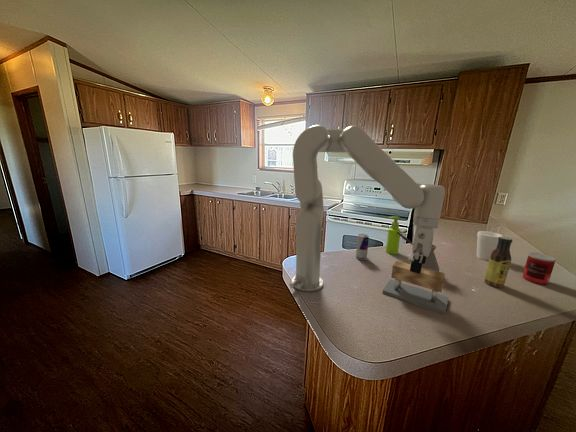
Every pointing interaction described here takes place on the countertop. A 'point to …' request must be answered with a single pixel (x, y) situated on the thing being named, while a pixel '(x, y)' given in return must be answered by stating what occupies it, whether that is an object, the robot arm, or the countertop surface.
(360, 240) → the energy drink
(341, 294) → the countertop surface
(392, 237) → the soap dispenser
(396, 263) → the shelf board
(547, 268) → the canned food
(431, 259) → the coffee pot
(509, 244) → the sauce bottle
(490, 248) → the foam cup
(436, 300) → the peg stand
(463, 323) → the countertop surface
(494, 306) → the countertop surface
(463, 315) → the countertop surface
